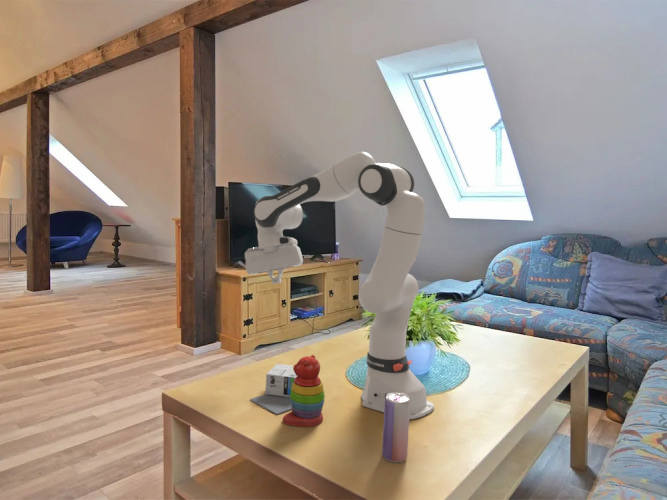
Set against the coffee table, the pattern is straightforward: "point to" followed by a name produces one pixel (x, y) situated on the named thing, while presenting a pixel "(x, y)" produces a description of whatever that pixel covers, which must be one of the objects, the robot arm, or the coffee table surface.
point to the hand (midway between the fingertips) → (276, 282)
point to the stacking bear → (306, 394)
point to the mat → (273, 403)
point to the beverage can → (396, 427)
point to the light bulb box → (280, 380)
